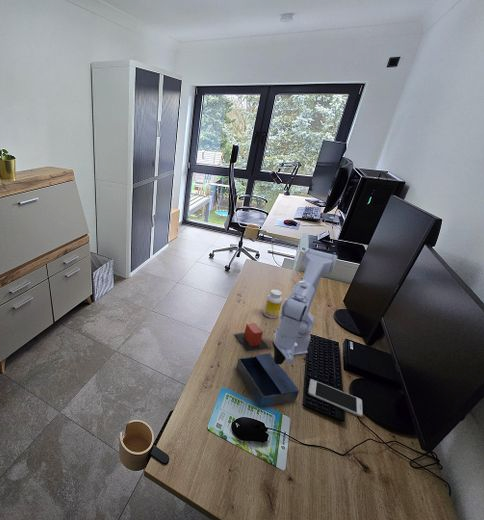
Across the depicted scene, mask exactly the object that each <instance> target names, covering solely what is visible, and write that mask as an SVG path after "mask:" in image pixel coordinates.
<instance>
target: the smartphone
mask: <svg viewBox="0 0 484 520" xmlns="http://www.w3.org/2000/svg"><path fill="white" fill-rule="evenodd" d="M307 394H308V395H309V396H312V397H314V398H316V399H318V400H320V401H323V402H326V403H328V404H330V405H332V406H335V407H337V408H339V409H341V410H343V411H345V412H348V413H350V414H352V415H354V416H357V417H361V418H362V417H363V414H364V413H363V399H361V398H359V397H357V396H354V395H352V394H350V393H348V392H344V391H342V390H340V389H337V388H334V387H332V386H329V385H327V384H324V383H322V382H319V381H317V380H315V379H312V378H311V379H309V385H308V392H307Z"/></svg>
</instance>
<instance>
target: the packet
mask: <svg viewBox="0 0 484 520" xmlns="http://www.w3.org/2000/svg"><path fill="white" fill-rule="evenodd" d="M243 333H244V338H245V339H246V340H247V342H248V343H249V344H250V346H257V345H260V342H261V339H262V337H263V334H264V331H263V330H262V329H261V328H260V327H259V326H258V324H257V323H256V322H251V323H246V325H245V329H244V332H243Z"/></svg>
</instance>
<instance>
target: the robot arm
mask: <svg viewBox="0 0 484 520" xmlns="http://www.w3.org/2000/svg"><path fill="white" fill-rule="evenodd" d="M337 260H338V255H337V254H332V253H328V252H324V251H320V250H316V249H313V248H310V247H307V248H305V250H304V252H303V256H302V257H301V263H300V264H301V265H302V267H303V268H304V272H303V276H302V279H301V281H298V282H296V283H295V284H294V286H293V289H292V290H291V292H290V294H289V296H288V298H285V299H284V302H283V303H282V305H281V308H280V317H279V319H280V320H279V324H278V327H275V329H274V339H273V341H272V347H273V358H274V361H275V364H279V365H280V366H281V365H282V364H283V363H286V364H292V365H293V363H294V358H295V357H294V356H297V355H303V354H308V353H309V352H308V348H309V345H310V343H311V331H312V329H313V327H314V322H315V317H314V316H313V315H312V313H311V312H310V309H311V307H312V304H313V301H314V298H315V296H316V293H317V291H318V288H319V286H320V281H321V279H322V277H323V276H324V275H331V274H332V273H333V270H334V268H335V265H336V263H337Z"/></svg>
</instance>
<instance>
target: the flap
mask: <svg viewBox="0 0 484 520" xmlns="http://www.w3.org/2000/svg"><path fill="white" fill-rule="evenodd" d="M254 356H255V357H256V358H257V360H258V361H259V363H260V364H261V365H262V367H263V368H264V370H265V371H266V372H267V374H268V375H269V377H270V378H271V379H272V381H273V382H274V384H275V385H276V386H277V388H278V389H279V391H280V392H281V393H282V394H284V393H290V392H296V391H299V392H300V390H299V388H298V387H297V385H295V383H294V382H293V381H292V379H291V378H290V376H289V375H288V374H287V373H286V371H285V370H284V369H283V368H282V367H281V365H280V364H275V361H274V355H272V354H271V352H270V353H268V352H267V353H261V354H254Z"/></svg>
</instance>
